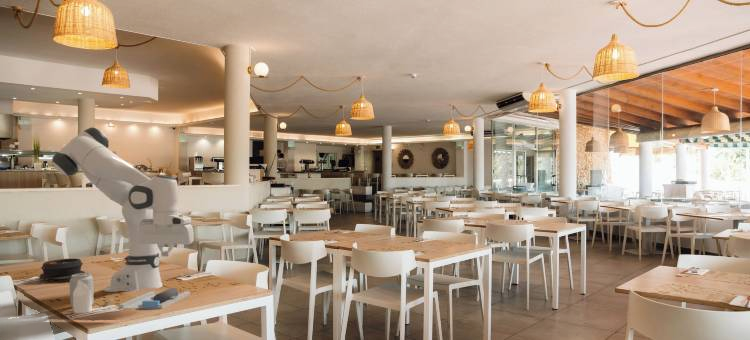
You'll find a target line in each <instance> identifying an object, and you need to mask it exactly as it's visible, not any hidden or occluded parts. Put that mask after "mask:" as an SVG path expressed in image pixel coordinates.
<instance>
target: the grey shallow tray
mask: <svg viewBox="0 0 750 340" xmlns="http://www.w3.org/2000/svg"><path fill="white" fill-rule="evenodd" d="M155 293H156V292H155V291H149V292H146V293H144V294H142V295H139V296H137V297H135V298H132V299H130V300H127V301H124V302H123V303H120V304H119V305H118V306H119V307H118V308H119V309H144V310H145V309H147V310H148V309H150V310H151V309H154V310H155V309H156V310H158V309H161V310H162V309H164V308H167V307H168V306H170V305H173V304H174V303H176V302H178V301H180V300H182V299H185V298H186V297H189V296H190V295H191V292H190V291H188V290H187V291H184V292H182V293H180V294H178V296H172V297H170V299H169V300H167V301H165V302H163V303H161V304H160V301H153V298H154V296H155V295H157V294H158V293H157V294H155Z"/></svg>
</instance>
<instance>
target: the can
mask: <svg viewBox="0 0 750 340" xmlns="http://www.w3.org/2000/svg"><path fill="white" fill-rule="evenodd" d="M78 280H80V281H82V282H83V283H85V284H86V285H87V286H88V287H89V289H90V290H91V297H92V305H93V304H94V301H95V300H94V299H95V298H94V296H95V295H94V276H92V273H90V272H85V273H80V274H74V275H72V278H71V279H69V301H70V302H69V304H70V305H69V307H70V308H72V309H73V292H74V290H75V289H76V286H77V283H78Z"/></svg>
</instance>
